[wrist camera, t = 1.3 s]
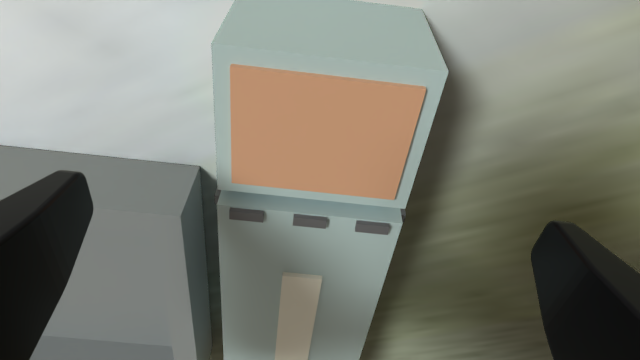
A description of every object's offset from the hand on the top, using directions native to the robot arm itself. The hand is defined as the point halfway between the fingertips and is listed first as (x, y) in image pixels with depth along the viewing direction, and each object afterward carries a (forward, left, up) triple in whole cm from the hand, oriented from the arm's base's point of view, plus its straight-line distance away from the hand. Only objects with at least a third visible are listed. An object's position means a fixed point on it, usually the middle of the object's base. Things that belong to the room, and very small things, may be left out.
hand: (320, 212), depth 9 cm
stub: (0, 0, -6) cm, 7 cm away
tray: (-10, +10, -6) cm, 16 cm away
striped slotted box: (-8, 0, -6) cm, 10 cm away
